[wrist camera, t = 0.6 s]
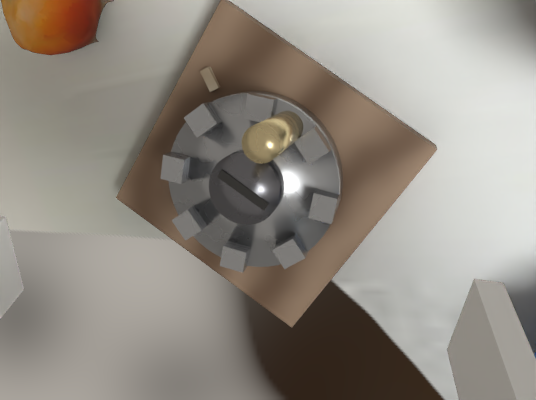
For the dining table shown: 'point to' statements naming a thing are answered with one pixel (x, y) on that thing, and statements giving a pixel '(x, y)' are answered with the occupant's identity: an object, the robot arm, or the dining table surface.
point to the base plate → (325, 109)
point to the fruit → (53, 23)
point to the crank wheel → (254, 179)
